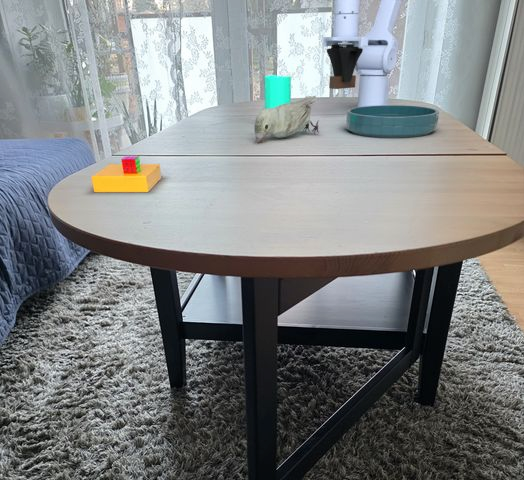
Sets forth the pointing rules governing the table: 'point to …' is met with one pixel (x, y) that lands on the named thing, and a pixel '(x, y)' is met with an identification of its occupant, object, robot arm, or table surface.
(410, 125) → the bowl
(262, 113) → the decorative bird
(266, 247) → the table surface
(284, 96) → the candle
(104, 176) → the yellow slab
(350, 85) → the brown block
